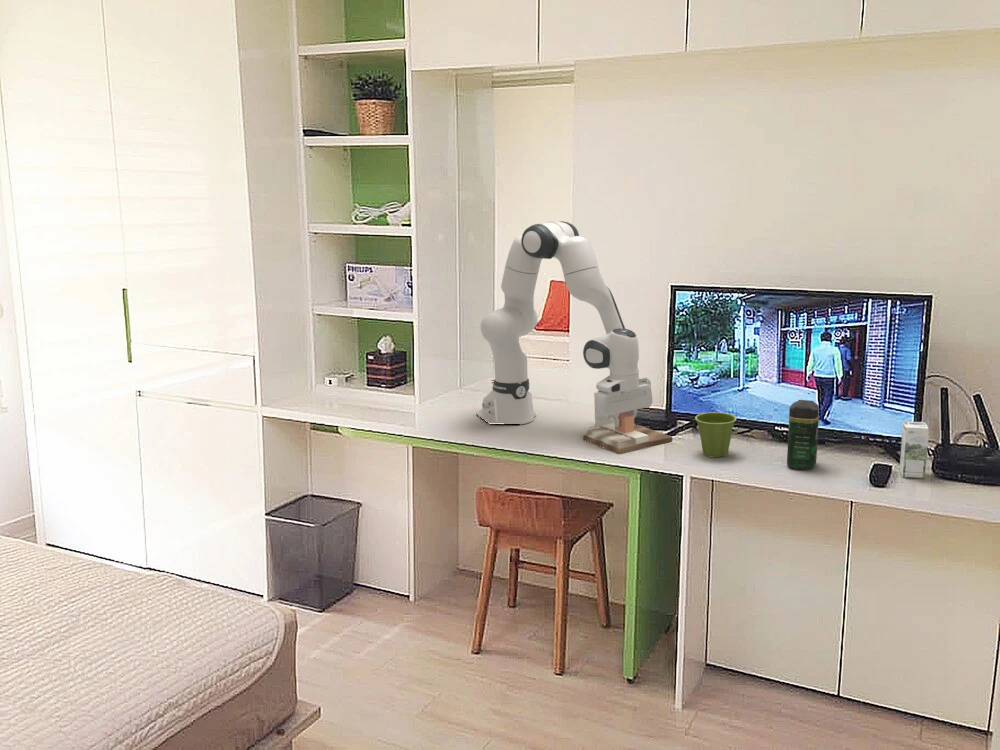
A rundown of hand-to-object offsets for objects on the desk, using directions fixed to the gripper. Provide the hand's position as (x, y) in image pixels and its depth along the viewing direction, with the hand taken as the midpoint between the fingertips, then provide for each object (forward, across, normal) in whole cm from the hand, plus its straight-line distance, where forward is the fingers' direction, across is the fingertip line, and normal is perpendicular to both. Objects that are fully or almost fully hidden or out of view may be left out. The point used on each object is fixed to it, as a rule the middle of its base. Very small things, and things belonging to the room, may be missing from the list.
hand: (624, 425), depth 292 cm
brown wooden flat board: (+5, -1, 0) cm, 5 cm away
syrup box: (+5, -42, +71) cm, 83 cm away
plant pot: (+6, -13, +26) cm, 30 cm away
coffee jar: (+6, -25, +48) cm, 54 cm away
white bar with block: (+4, 0, 0) cm, 4 cm away
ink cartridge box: (+6, -7, -18) cm, 20 cm away
